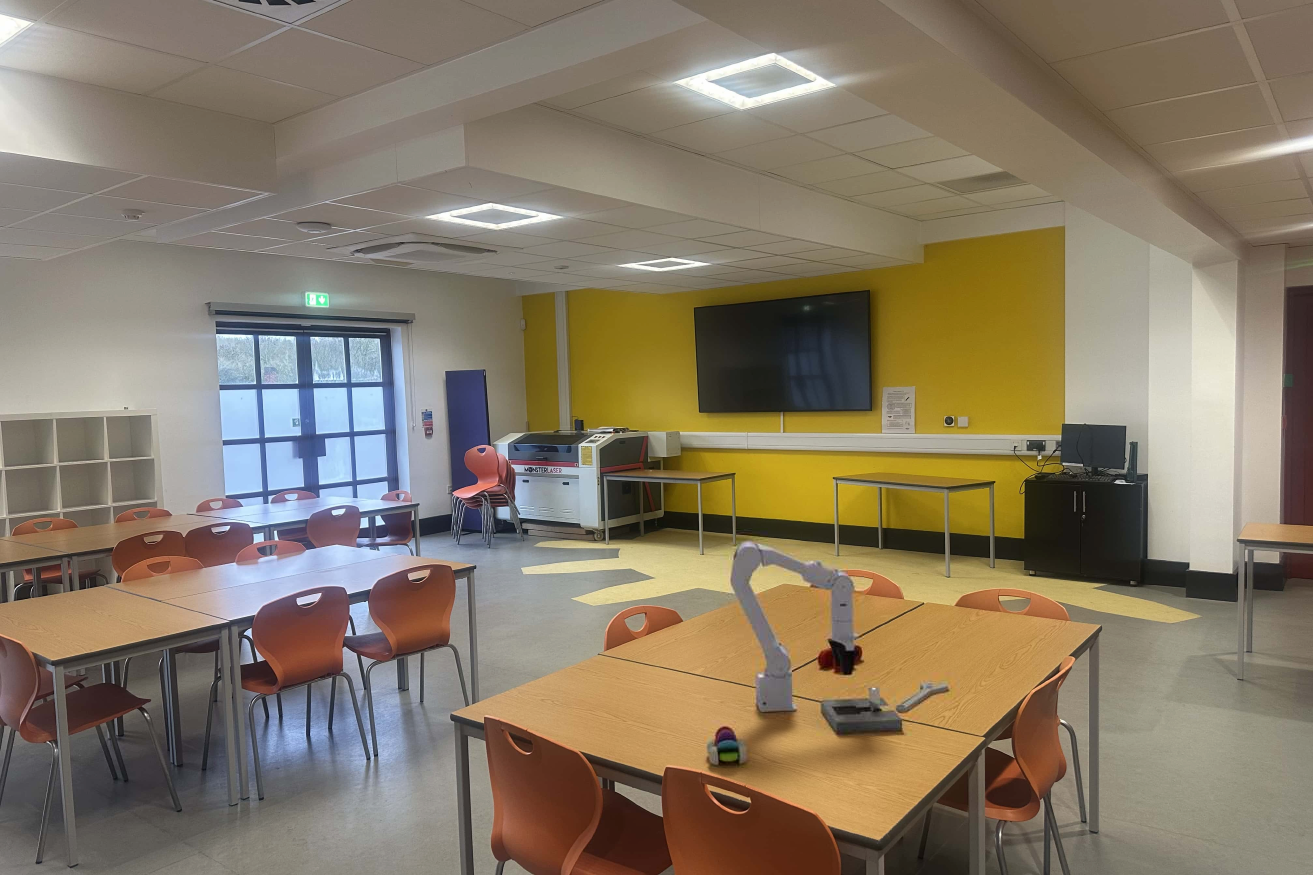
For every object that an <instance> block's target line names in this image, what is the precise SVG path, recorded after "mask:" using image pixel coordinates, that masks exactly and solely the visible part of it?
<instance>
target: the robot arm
mask: <svg viewBox="0 0 1313 875" xmlns="http://www.w3.org/2000/svg"><path fill="white" fill-rule="evenodd" d="M732 557H733V558H732V565H731V570H730V571H731V572H730V578H729V581H730V585H731V589H732V590H733V592H734V595H735V596H736V598H737V600H738V602H739V604H740V606H741V608H742V611H743V612H744V614H745V616H746V618H747V620H748V623H749V625H750V626H751V628H752V630H753V632H754V634H755V636H756V638H757V640H758V642H759V645H760V647H761V649H762V652H763V654H764V659H765V661H766V666H765V669H764V670H763V672H762V673H756V674H755V692H756V693H755V696H756V697H755V699H756V700H755V703H756V705H757V707H758V709H759V711H760V713H767V712H768V713H769V712H787V711H797V706H796V704H795V703H794V702H793V701H794V700H793V676H792V675H793V673H792V672H793V671H792V670H791V667H792V661H791V659H790V656H789V651H788V649H787V647H786V646H784V645H783V644H782V643H781V642H780V641H779V639H778V637H777V635H776V634H775V631H774V630H773V628H772V626H771V624H770V622H769V619H768V618H767V616H766V613H765V612H764V610H763V607H762V605H761V604H760V602H759V599H758V598H757V596H756V594H755V592H754V590H753V589H754V588H752V586H751V583H750V582H751V579H752V577H753V573H755V571H756V570H757V569H758V568H759V567H760V565H761V567H763V568H764V567H768V566H771V565H775V566H777V567H780V568H783V569H786V570H787V571H791V572H794V573H796V574H799V575H801V578H802V580H803V581H804V582H806V583H808V584H811V585H814V586H816V587H818V588H821V589H823V590H826V591H830V598H831V599H830V624H831V626H830V630H831V634H830V638H827V639H826V640H827V642H828V644H829V646H830V647H829V648H831V649H832V652H833V657H834V661H835V665H836V667H837V666H842V671H841V672H842V674H843V676H852V675H853V671H854V667H855V666H854V665H855V663H856V662H855V659H856V657H857V655H858V653H859V649H858V648H854V645H855V639H859V635H858V634H857V633H854V632H855V629H854V626H855V625H854V600H853V593H854V591H855V587H856V586H855V585H854V582H853V580H852V578H851V577H850V575H848V574H847V572H844V571H843V570H839V569H838V568H836V567H834V568H831V567H829V566H826V565H823V564H822V562H821V561H820V560H817V559H816V560H815V561H814V560H810V561H806V562H803V561H801V560H799V559H797V558H795V557H792V556H790V555H787V554H785V553H784V552H781V551H779V550H777V549H775V548H772V547H769V546H766V545H764V544H761V543H758V544H757V543H756V542H753V541H750V540H746V541H743V542H741V543H740V544H738V546H737V548H736V550H735V551H734V554H733V556H732Z"/></svg>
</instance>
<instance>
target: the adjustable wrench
mask: <svg viewBox="0 0 1313 875" xmlns="http://www.w3.org/2000/svg"><path fill="white" fill-rule="evenodd" d="M948 687H949V686H948V683H947V682H945V681H942V682H941V684H932V680H927V681H923V682H922V683H920V684H919V689H920V690H919V691H917V692H916V693H914V694H912V695H911V696H909V697H907V698H906V699H904V700H902V701H901V702H899V703H898V704H896V705H895V712H898V713H904V712H907V711H909V710H911V708H913V707H914V706H916V705H917V704H919V703H920V702H922V701H923V700H925V699H927V698H928V697H930V696H931V695H934V694H938V693H944V692H947V691H948V689H949V688H948Z"/></svg>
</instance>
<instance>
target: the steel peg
mask: <svg viewBox="0 0 1313 875" xmlns="http://www.w3.org/2000/svg"><path fill="white" fill-rule="evenodd" d="M880 691H881V690H880V687H877V686H869V687H868V698H869V712H871V711H880V697H881V696H880V693H881V692H880Z"/></svg>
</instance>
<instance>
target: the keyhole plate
mask: <svg viewBox="0 0 1313 875" xmlns="http://www.w3.org/2000/svg"><path fill="white" fill-rule="evenodd" d="M820 712H821V713H822V715H823V717H824V718H825V719H826V721H827V722H828V724H829V725H830V727H831V728H832V730H833V731H834V733H835V734H836V735H845V734H846V735H849V734H867V733H870V734H872V733H886V732H888V733H889V732H903V719H902V717H901V716H900V715H899V714H898V713H897V711H896V710H894V709H893V708H892V707H891V706H890V705H889V704H888V702H886V701H885V699H884V697H882V696H880V711H871V712H869V697H861V698H843V699H842V698H841V699H823V700H820Z"/></svg>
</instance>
